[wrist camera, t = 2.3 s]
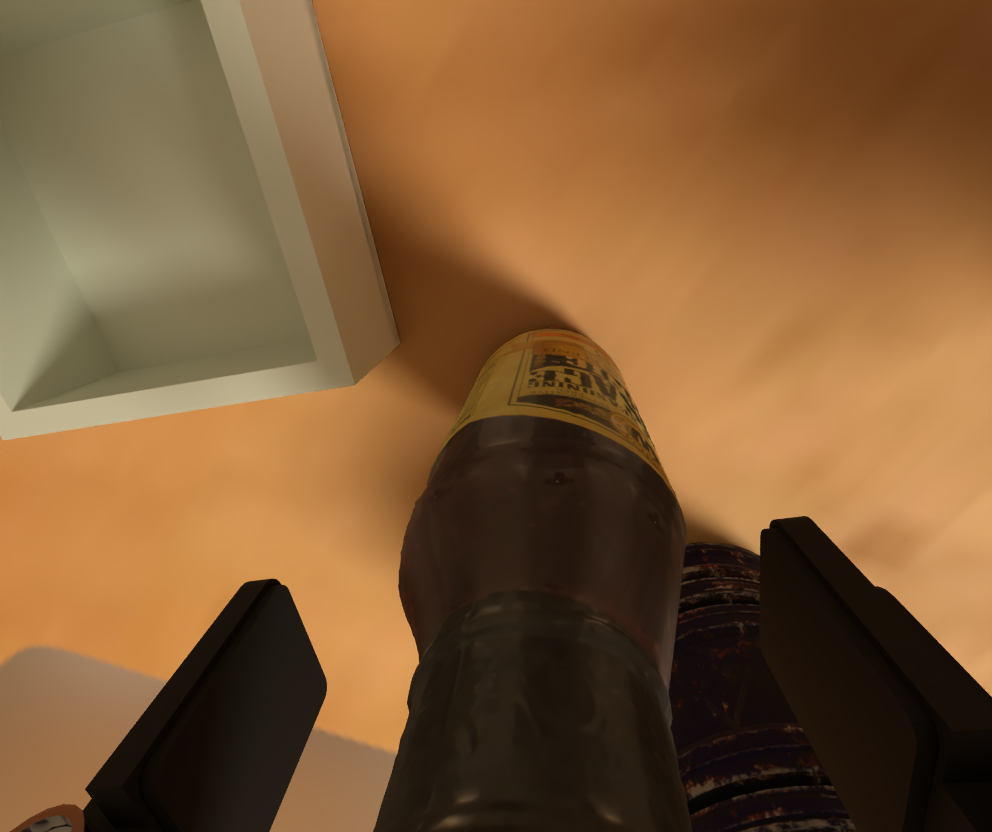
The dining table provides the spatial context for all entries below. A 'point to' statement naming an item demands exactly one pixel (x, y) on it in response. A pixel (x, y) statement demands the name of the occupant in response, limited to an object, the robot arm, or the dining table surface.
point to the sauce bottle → (542, 609)
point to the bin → (175, 213)
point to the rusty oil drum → (738, 710)
